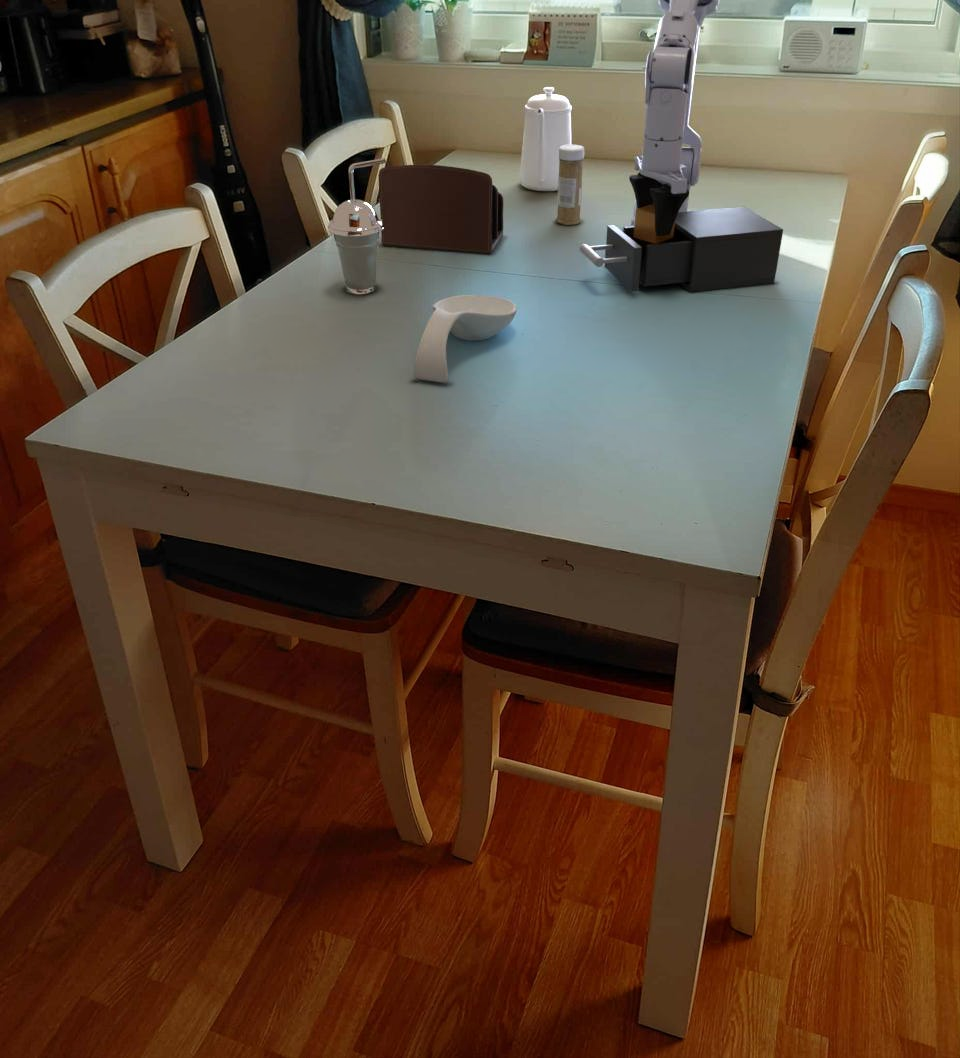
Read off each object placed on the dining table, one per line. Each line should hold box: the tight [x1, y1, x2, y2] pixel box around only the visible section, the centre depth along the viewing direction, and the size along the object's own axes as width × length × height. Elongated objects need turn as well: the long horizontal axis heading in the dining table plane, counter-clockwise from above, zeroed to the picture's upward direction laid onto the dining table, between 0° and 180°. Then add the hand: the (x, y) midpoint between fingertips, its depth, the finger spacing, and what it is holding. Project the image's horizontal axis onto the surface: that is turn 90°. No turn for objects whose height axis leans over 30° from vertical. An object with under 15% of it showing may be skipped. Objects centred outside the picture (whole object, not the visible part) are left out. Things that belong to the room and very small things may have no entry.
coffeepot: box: [519, 86, 573, 192], centre depth 197 cm, size 11×25×19 cm, turn 168°
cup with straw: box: [327, 157, 387, 296], centre depth 148 cm, size 8×9×20 cm
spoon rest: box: [413, 294, 518, 383], centre depth 133 cm, size 24×12×7 cm, turn 162°
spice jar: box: [556, 144, 585, 226], centre depth 178 cm, size 5×5×14 cm
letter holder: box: [378, 164, 504, 255], centre depth 169 cm, size 10×20×14 cm, turn 76°
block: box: [634, 204, 675, 244], centre depth 151 cm, size 4×4×4 cm
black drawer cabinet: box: [674, 206, 784, 293], centre depth 157 cm, size 15×13×9 cm
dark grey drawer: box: [579, 224, 694, 292], centre depth 154 cm, size 19×11×7 cm, turn 105°
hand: (654, 228), depth 152 cm, fingers closed on block, 6 cm apart
